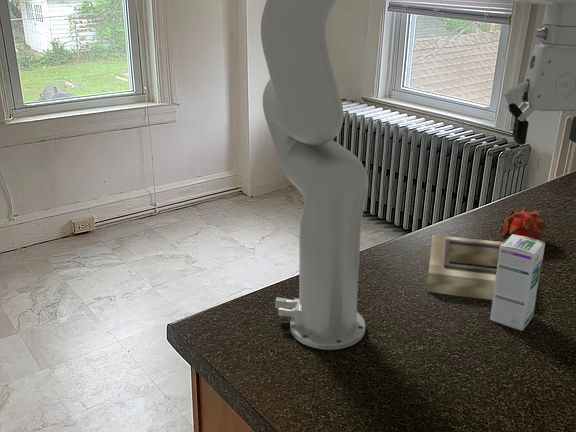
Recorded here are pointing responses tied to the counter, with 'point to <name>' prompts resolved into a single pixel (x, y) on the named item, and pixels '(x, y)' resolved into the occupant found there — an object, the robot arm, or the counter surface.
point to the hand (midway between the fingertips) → (547, 142)
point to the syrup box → (517, 281)
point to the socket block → (463, 266)
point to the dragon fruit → (523, 224)
